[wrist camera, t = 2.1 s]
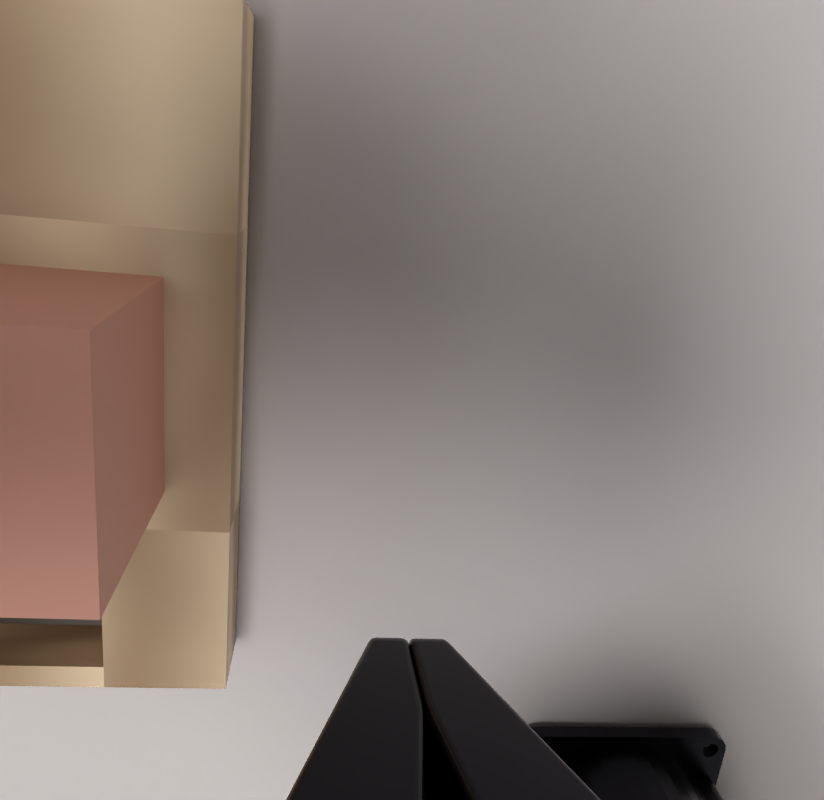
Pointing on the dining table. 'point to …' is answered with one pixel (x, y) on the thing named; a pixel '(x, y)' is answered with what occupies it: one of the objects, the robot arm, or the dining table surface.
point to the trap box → (154, 256)
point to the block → (76, 434)
